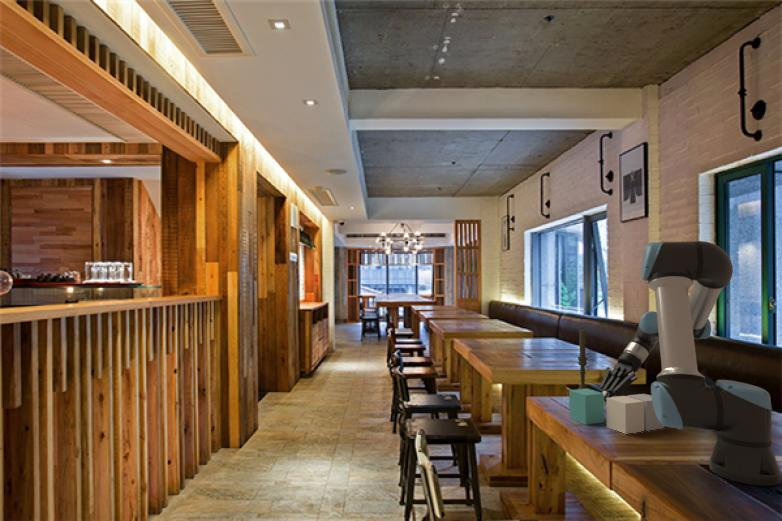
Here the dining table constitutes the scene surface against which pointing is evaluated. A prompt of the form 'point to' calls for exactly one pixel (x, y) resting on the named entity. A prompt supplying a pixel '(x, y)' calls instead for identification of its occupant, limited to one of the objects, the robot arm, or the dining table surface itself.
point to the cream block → (625, 414)
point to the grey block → (648, 412)
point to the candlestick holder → (582, 359)
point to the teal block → (586, 406)
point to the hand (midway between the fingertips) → (597, 407)
